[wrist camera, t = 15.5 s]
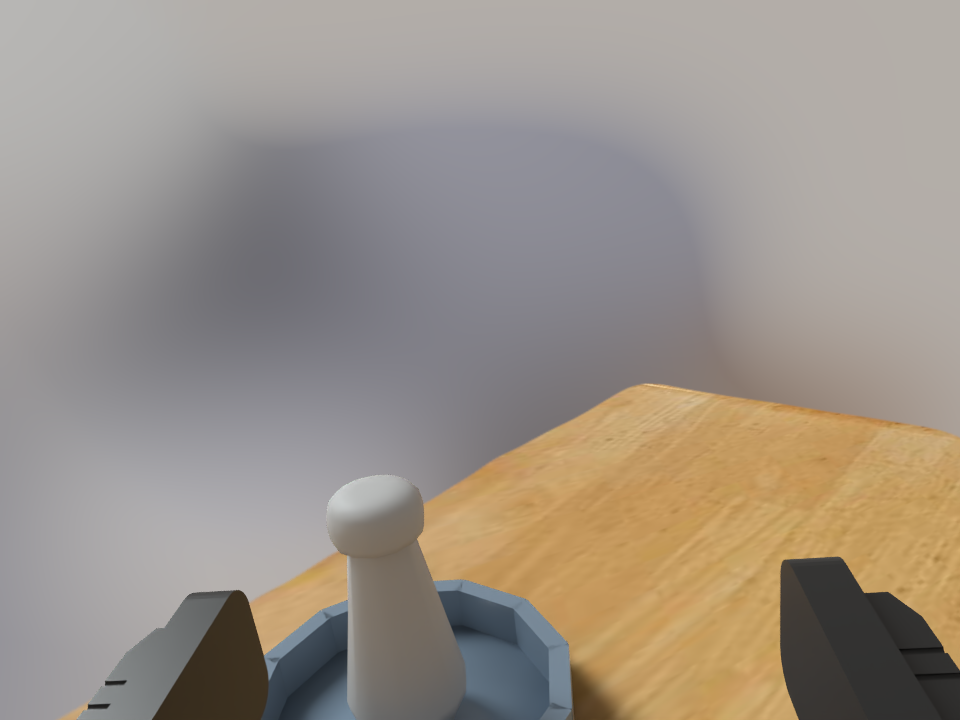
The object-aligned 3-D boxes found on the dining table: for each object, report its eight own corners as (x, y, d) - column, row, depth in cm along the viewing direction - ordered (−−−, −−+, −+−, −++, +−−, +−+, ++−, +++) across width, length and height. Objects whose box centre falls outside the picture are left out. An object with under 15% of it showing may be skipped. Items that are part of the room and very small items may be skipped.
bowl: (569, 620, 44) (564, 573, 43) (584, 891, 29) (578, 829, 28) (306, 632, 46) (295, 588, 45) (192, 894, 31) (173, 836, 30)
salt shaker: (480, 680, 39) (449, 456, 35) (462, 773, 34) (422, 522, 30) (373, 679, 40) (330, 461, 36) (339, 769, 35) (283, 525, 31)
